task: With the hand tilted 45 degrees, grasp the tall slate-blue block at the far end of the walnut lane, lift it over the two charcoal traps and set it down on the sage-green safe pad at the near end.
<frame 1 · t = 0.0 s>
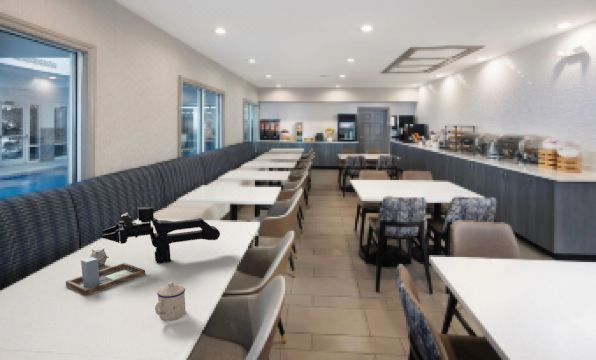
hand: (101, 234, 176), 17 cm above the table, tool horizontal, fingers open, 9 cm apart
slate-blue block: (91, 285, 161), resting in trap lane
teacup with lid: (169, 317, 134), on the table
game die: (99, 266, 183), on the table
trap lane: (109, 279, 167), on the table
safe pad: (116, 276, 170), resting in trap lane
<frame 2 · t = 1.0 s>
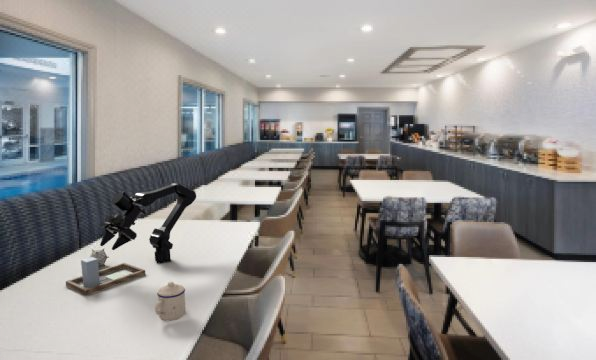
hand: (106, 247, 165), 14 cm above the table, tool tilted 45°, fingers open, 9 cm apart
nothing on the table moved.
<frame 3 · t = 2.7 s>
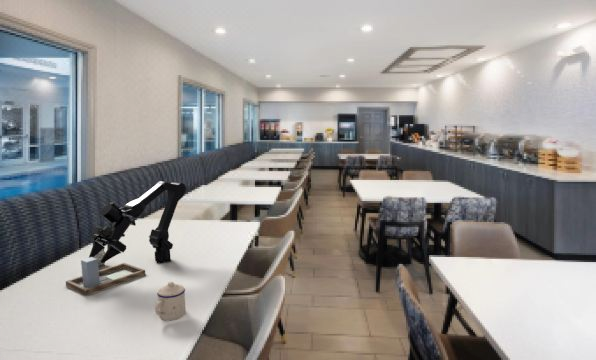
hand: (95, 260, 162), 10 cm above the table, tool tilted 45°, fingers open, 9 cm apart
nothing on the table moved.
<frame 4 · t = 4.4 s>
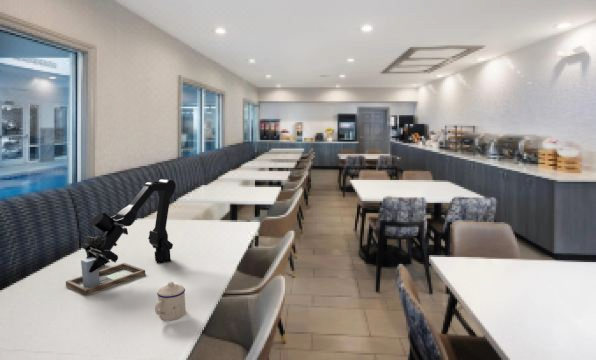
hand: (86, 270, 159), 7 cm above the table, tool tilted 45°, fingers closed on slate-blue block, 4 cm apart
slate-blue block: (91, 285, 161), resting in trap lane, touching gripper
everything else where it was.
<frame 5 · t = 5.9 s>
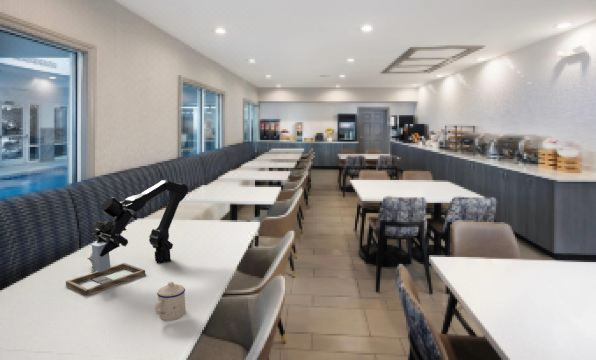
hand: (97, 255, 162), 12 cm above the table, tool tilted 45°, fingers closed on slate-blue block, 4 cm apart
slate-blue block: (102, 269, 164), point 5 cm above the table, touching gripper
everything else where it was.
when the fingers open (8 cm above the table, at t = 7.7 s): slate-blue block moves 1 cm, resting on safe pad.
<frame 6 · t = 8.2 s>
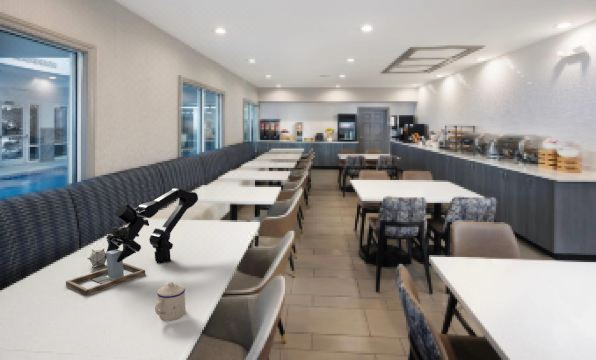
hand: (111, 259, 167), 8 cm above the table, tool tilted 45°, fingers open, 9 cm apart
slate-blue block: (115, 275, 170), resting on safe pad
everything else where it was.
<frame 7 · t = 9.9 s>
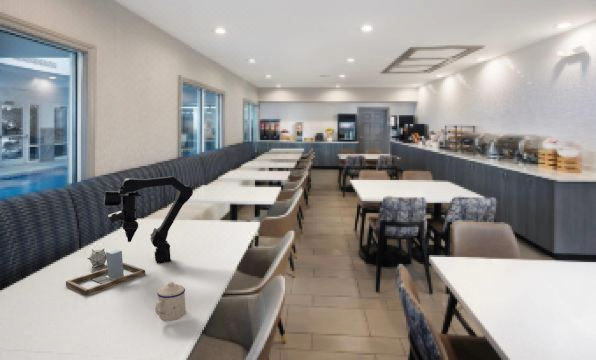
hand: (128, 239, 180), 13 cm above the table, tool pointing down, fingers open, 9 cm apart
nothing on the table moved.
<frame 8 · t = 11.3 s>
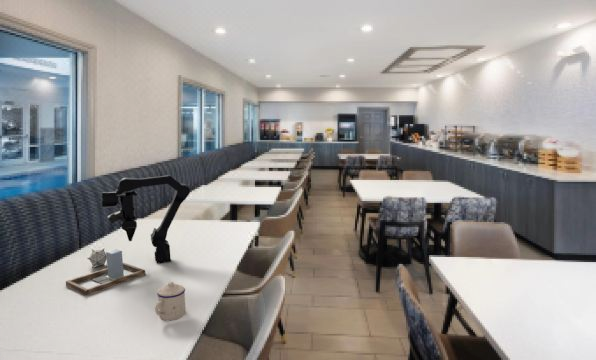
hand: (129, 238, 181), 13 cm above the table, tool pointing down, fingers open, 9 cm apart
nothing on the table moved.
at the end: slate-blue block 0.0 cm from the safe pad (horizontally); slate-blue block tilted 0°; the gripper is holding nothing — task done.
